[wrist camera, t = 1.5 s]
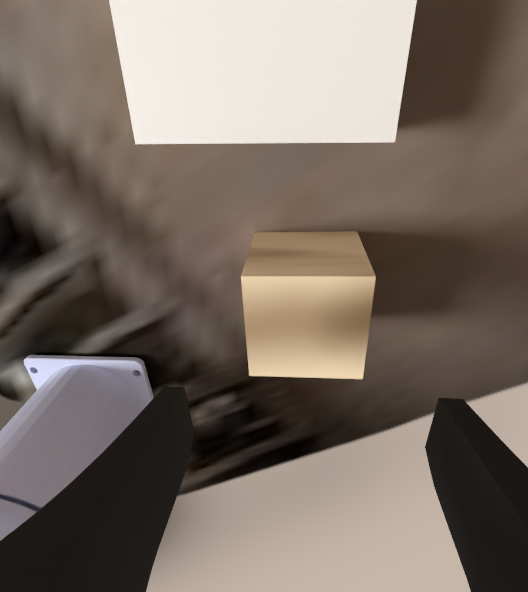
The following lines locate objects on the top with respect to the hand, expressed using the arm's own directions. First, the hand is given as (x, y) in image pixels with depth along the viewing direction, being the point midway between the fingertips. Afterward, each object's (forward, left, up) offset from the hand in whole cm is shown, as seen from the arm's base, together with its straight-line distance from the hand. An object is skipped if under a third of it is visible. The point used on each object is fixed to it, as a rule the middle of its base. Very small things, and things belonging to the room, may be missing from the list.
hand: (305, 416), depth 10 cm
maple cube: (0, 0, -10) cm, 10 cm away
